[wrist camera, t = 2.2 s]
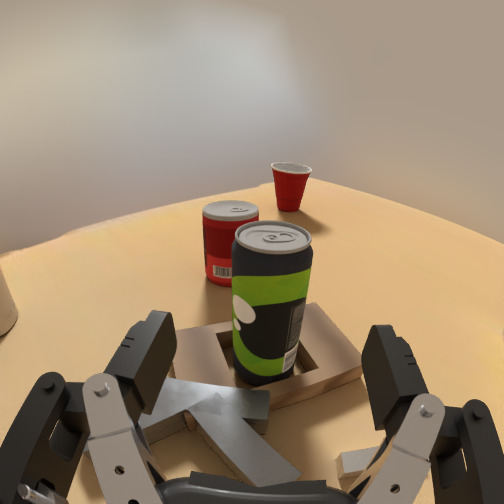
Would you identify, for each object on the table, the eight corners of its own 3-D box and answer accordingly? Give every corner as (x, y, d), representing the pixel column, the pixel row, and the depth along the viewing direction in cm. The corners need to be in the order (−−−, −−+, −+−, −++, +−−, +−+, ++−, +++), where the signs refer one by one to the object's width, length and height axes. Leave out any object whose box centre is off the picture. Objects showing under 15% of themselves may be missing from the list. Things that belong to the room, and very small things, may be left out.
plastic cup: (281, 217, 69) (284, 169, 63) (261, 205, 77) (263, 162, 72) (316, 213, 73) (320, 169, 67) (294, 201, 81) (297, 162, 76)
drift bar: (337, 479, 16) (344, 473, 15) (334, 460, 18) (341, 452, 17) (417, 460, 16) (428, 452, 15) (412, 444, 18) (422, 434, 17)
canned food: (264, 281, 43) (268, 212, 38) (215, 293, 39) (212, 220, 34) (243, 259, 49) (244, 197, 44) (199, 268, 46) (195, 203, 41)
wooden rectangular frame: (189, 430, 20) (185, 417, 19) (171, 347, 29) (167, 331, 28) (360, 377, 26) (367, 362, 25) (312, 317, 35) (315, 302, 34)
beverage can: (282, 342, 31) (297, 217, 24) (300, 383, 26) (329, 248, 19) (229, 350, 30) (225, 221, 23) (239, 394, 24) (240, 256, 17)
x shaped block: (294, 505, 14) (301, 498, 12) (78, 456, 15) (62, 442, 14) (296, 409, 23) (301, 392, 21) (115, 380, 24) (105, 362, 23)
